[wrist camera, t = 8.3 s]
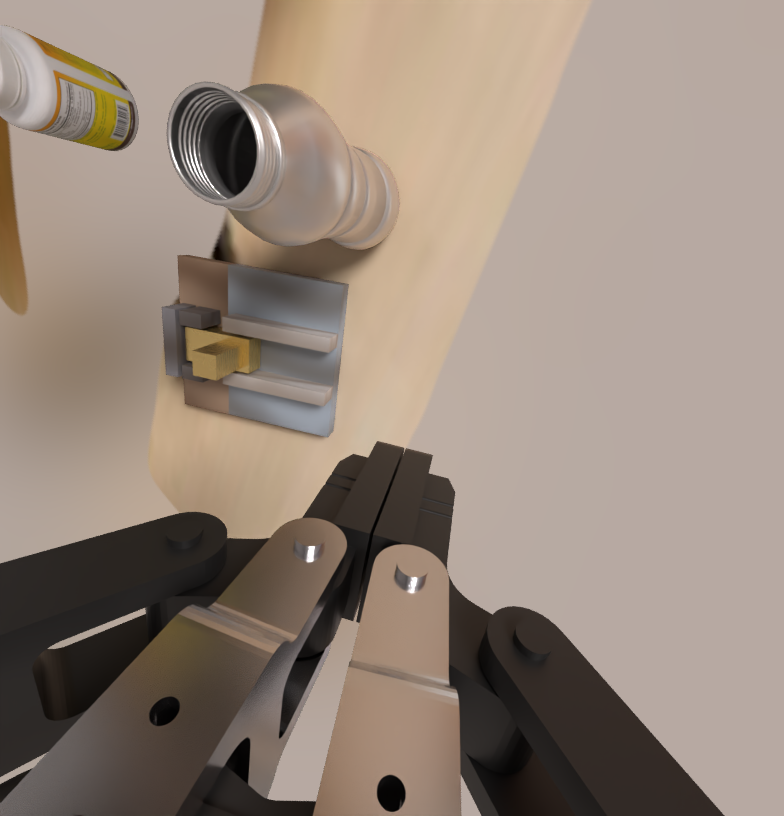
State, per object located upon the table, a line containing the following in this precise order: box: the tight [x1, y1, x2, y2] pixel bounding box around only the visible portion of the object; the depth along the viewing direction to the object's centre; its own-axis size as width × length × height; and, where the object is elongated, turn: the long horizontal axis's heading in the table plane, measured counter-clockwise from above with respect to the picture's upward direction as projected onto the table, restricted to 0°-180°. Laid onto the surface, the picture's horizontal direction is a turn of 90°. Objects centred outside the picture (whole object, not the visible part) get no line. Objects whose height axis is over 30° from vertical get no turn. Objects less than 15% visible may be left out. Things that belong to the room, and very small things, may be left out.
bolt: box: [185, 326, 261, 380], centre depth 35 cm, size 3×6×6 cm, turn 81°
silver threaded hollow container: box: [167, 82, 400, 250], centre depth 23 cm, size 6×7×20 cm
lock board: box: [162, 255, 349, 437], centre depth 37 cm, size 14×15×4 cm
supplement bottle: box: [0, 25, 138, 151], centre depth 29 cm, size 6×6×10 cm
